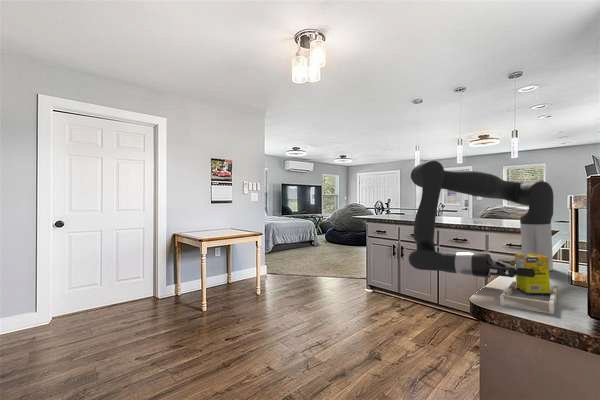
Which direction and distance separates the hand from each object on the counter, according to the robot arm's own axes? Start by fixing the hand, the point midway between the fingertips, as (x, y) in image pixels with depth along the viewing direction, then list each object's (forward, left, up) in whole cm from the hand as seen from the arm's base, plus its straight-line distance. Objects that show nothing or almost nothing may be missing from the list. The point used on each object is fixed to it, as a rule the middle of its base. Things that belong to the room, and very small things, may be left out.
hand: (536, 270), depth 86 cm
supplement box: (0, -1, -7) cm, 7 cm away
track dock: (+6, -1, -7) cm, 9 cm away
